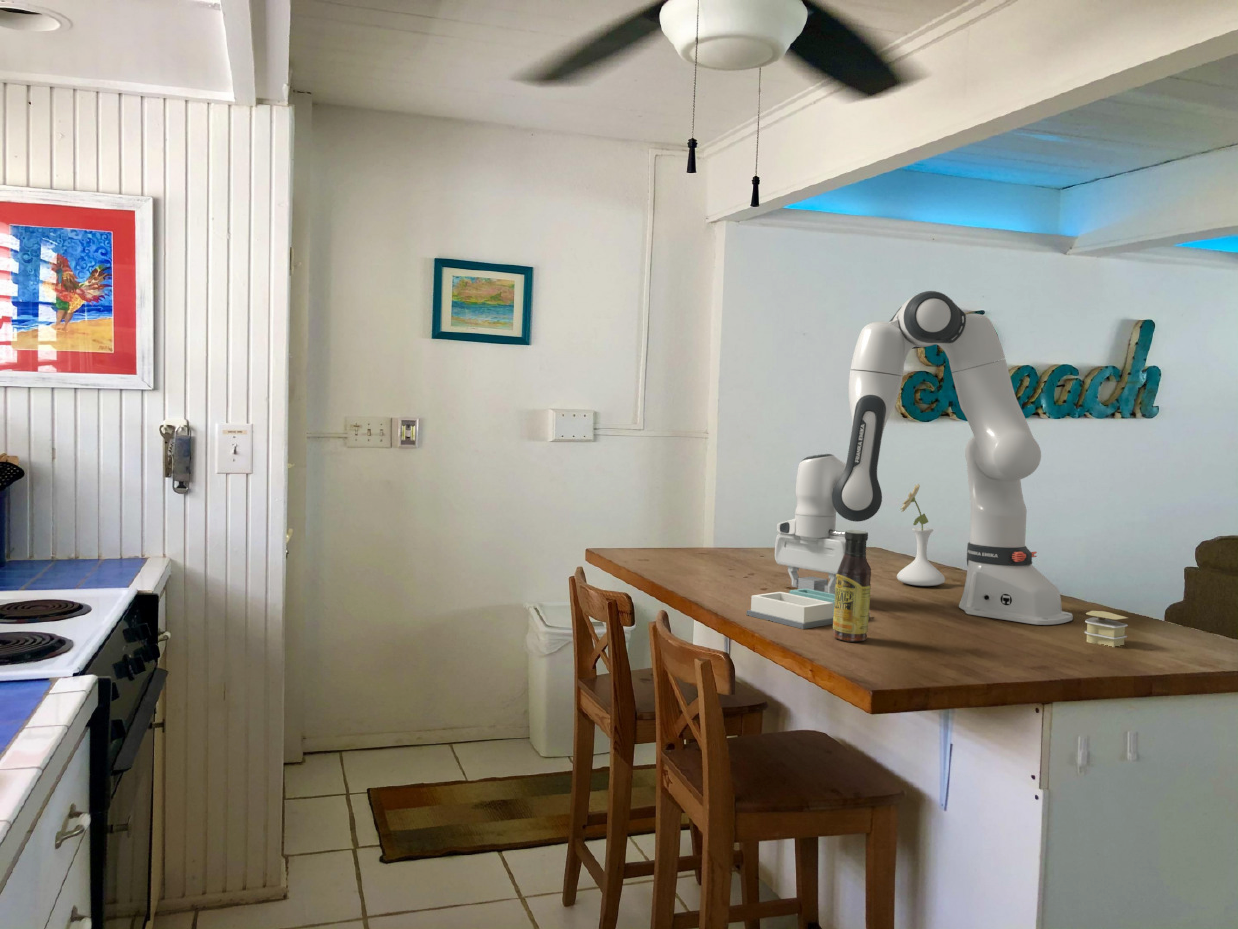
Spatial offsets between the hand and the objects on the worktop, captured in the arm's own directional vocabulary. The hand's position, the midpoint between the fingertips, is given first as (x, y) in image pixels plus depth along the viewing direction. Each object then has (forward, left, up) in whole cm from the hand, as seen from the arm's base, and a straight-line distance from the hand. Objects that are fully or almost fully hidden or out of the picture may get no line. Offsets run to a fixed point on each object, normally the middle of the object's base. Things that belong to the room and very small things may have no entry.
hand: (812, 590), depth 214 cm
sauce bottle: (-29, +23, -3) cm, 37 cm away
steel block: (0, 0, -2) cm, 2 cm away
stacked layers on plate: (-56, -16, -3) cm, 58 cm away
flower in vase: (0, -39, -3) cm, 39 cm away
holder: (-11, +14, -2) cm, 18 cm away
